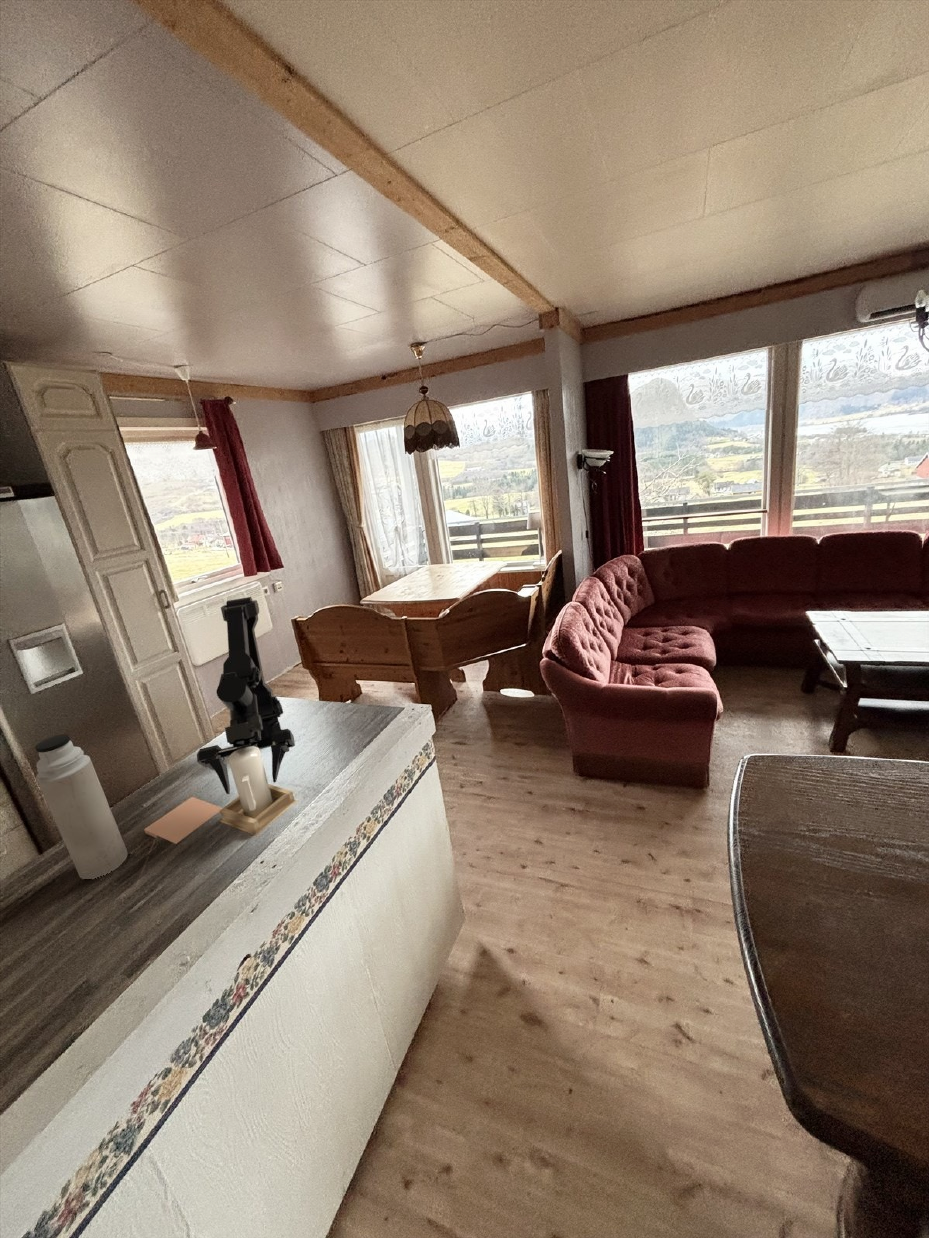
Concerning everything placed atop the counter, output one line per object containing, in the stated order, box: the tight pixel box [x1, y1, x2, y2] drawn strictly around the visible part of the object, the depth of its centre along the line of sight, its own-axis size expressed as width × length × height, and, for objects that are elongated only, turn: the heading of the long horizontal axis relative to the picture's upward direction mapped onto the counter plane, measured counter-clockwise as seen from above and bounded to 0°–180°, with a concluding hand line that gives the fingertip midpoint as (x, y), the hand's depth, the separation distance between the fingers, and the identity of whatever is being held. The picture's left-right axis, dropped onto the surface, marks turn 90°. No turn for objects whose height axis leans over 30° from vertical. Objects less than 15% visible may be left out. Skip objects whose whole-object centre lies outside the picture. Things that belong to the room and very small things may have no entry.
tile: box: [144, 796, 224, 845], centre depth 106 cm, size 11×11×1 cm
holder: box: [219, 783, 298, 836], centre depth 106 cm, size 11×11×4 cm
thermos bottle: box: [35, 733, 128, 880], centre depth 93 cm, size 8×8×28 cm
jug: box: [227, 746, 273, 819], centre depth 103 cm, size 8×6×14 cm
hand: (251, 787), depth 103 cm, fingers open, 9 cm apart
